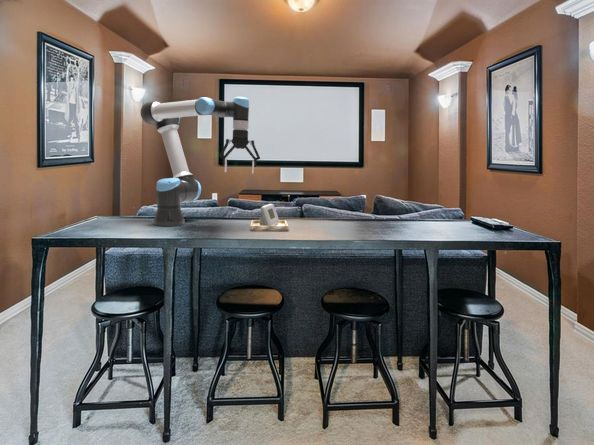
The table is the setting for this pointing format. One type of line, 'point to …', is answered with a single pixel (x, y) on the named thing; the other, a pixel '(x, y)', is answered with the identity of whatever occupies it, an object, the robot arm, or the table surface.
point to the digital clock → (269, 216)
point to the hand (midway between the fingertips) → (239, 172)
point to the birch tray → (279, 227)
